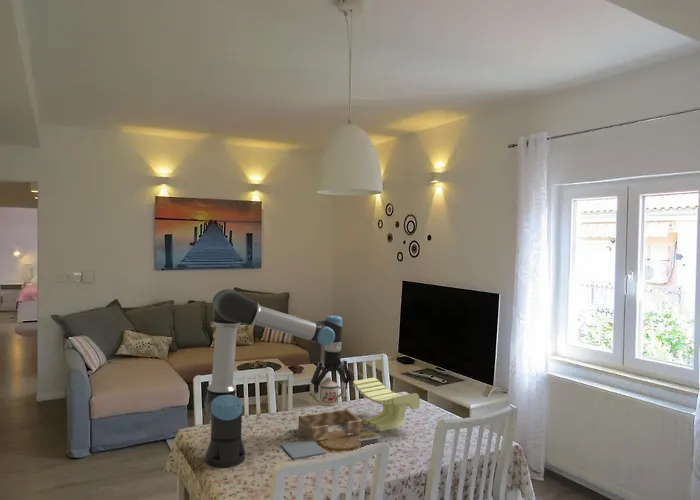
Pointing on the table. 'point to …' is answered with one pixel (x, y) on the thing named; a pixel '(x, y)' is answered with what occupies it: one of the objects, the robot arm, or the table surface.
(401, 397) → the slatted curved stool
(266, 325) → the robot arm
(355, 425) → the open enclosure
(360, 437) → the platform
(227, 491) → the table surface
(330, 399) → the teacup with lid
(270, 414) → the table surface
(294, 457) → the mat
